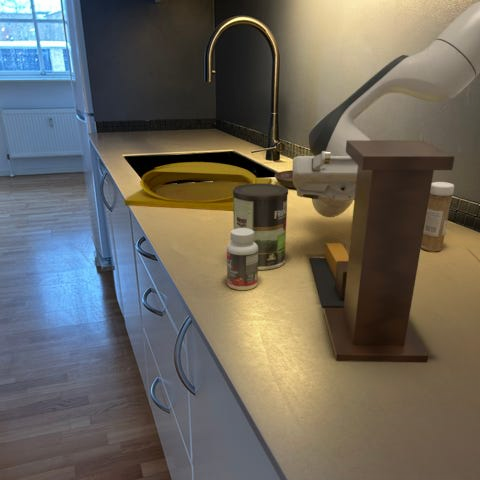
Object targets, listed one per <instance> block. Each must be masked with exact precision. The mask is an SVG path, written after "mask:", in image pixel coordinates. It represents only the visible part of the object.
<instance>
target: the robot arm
mask: <svg viewBox="0 0 480 480" xmlns="http://www.w3.org/2000/svg"><path fill="white" fill-rule="evenodd" d="M479 74H480V1H476V2H474V3H472V4H471V5H469V6H468V7H467V8H466V9H464V11H462V12H461V13H460V14H459V15H458V16H456V18H454V19H453V20H452V22H450V23H449V24H448V25H447V26H446V27H445V28H444V29H443V30H442V31H441V32H440V33H439V34H438V36H437V37H436V38H435V39H434V40H433V41H432V42H431V43H430V44H429V45H428V46H427V47H426V48H424V49H423V50H421V51H419V52H417V53H415V54H412V55H407V54H402V55H399V56H397V57H396V58H394V59H393V60H391V61H390V62H389V63H387V64H386V65H385V66H384V67H382V68H381V69H380V70H379V71H377V72H376V73H375V74H374V75H372V76H371V77H370V78H369V79H368V80H367V81H366V82H365V83H363V84H362V85H361V86H359V88H358V89H356V90H355V91H354V92H353V93H352V94H351V95H350V96H348V97H347V98H346V99H345V100H343V101H342V103H340V104H339V105H338V106H336V108H334V109H333V110H331V111H330V112H329V113H327V114H326V115H324V116H323V117H322V118H320V119H319V120H318V121H316V123H315V124H314V126H313V127H312V128H311V130H310V132H309V133H308V145H309V151H310V153H311V154H312V155H297V156H294V157H293V158H292V170H293V184H294V187H295V188H294V189H296V195H297V197H299V198H305V199H311V203H312V207H313V208H314V210H315V211H316V212H317V214H319V215H320V216H322V217H324V218H336V217H338V216H340V215H342V214H344V212H346V211H347V210H348V209H349V207H350V206H351V205H352V203H354V199H355V189H356V179H357V170H358V165H357V164H356V163H355V161H354V160H353V159H352V158H351V157H350V156H349V155H348V154H347V153H346V142H347V140H371V138H370V137H368V136H367V135H366V134H365V133H364V132H363V131H361V130H360V129H359V128H358V127H357V126H356V124H355V122H354V120H355V119H357V118H358V117H359V116H360V115H361V114H362V113H364V112H365V111H366V110H367V109H368V108H369V107H371V106H372V105H373V104H374V103H375V102H377V101H378V100H380V98H382V97H383V96H385V95H388V94H402V95H406V96H409V97H412V98H415V99H418V100H421V101H425V102H431V103H440V102H446V101H449V100H452V99H454V98H455V97H457V96H458V95H459V94H460V93H461V92H462V91H464V89H466V88H467V86H468V85H470V84H471V83H472V82H473V81H474V79H475V78H476V77H477V76H478V75H479Z"/></svg>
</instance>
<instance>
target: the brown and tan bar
mask: <svg viewBox="0 0 480 480" xmlns="http://www.w3.org/2000/svg"><path fill="white" fill-rule="evenodd" d="M324 253H325V254H324V258H325V259H326V261H327V263H328V265H329V267H330V269H331V271H332V273H333V275H334V277H335V290H336V292H337V294H338V296H339V298H340V300H344V298H345V288H346V279H347V269H348V259H349V252H347V250H346V249H345V247H344V245H343V243H342V242H326V243H325V251H324Z"/></svg>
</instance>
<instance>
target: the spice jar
mask: <svg viewBox="0 0 480 480" xmlns="http://www.w3.org/2000/svg"><path fill="white" fill-rule="evenodd" d="M454 190H455V184H454V183H451V182H447V181H434V182H433V181H432V184H431V190H430V196H429V202H428V208H427V214H426V220H425V226H424V232H423V238H422V244H421V249H422V250H423V251H427V252H441V251H442V250H443V249H444V241H445V236H446V232H447V226H448V219H449V212H450V208H451V200H452V197H453V194H454V192H455V191H454Z"/></svg>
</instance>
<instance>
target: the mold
mask: <svg viewBox="0 0 480 480" xmlns="http://www.w3.org/2000/svg"><path fill="white" fill-rule="evenodd" d="M176 181H200V182H201V181H202V182H225V183H245V184H256V183H264V184H272V178H271V177H270V178H269V177H265V178H264V177H257V176H256V175H255V174H253V172H251V171H249V170H248V169H245V168H242V167H239V166H237V165H236V166H235V165H231V164H226V163H219V162H208V161H207V162H206V161H205V162H204V161H191V162H190V161H188V162H187V161H185V162H175V163H169V164H164V165H160V166H156V167H155V168H154V169H151V170H149V171H147V172H145V173H143V174H142V176H141V180H140V182H139V183H140V184H139V185H140V187H141V189H140V190H139V191H138V192H136V193H134V194H133V195H131V196H129V197H127V198H126V199H125V200H124V205H125V206H134V207H135V206H136V207H154V208H155V207H156V208H172V209H173V208H175V209H190V210H191V209H192V210H193V209H195V210H210V211H211V210H213V211H231V212H232V211H233V195H229V196H226V197H219V198H213V199H202V200H201V199H199V200H196V199H195V200H194V199H193V200H192V199H188V200H187V199H178V198H171V197H167V196H162V195H159V194H157V193H155V191H156V190H157V189H159V188H161V187H162V186H164V185H165V184H167V183H171V182H176Z"/></svg>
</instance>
